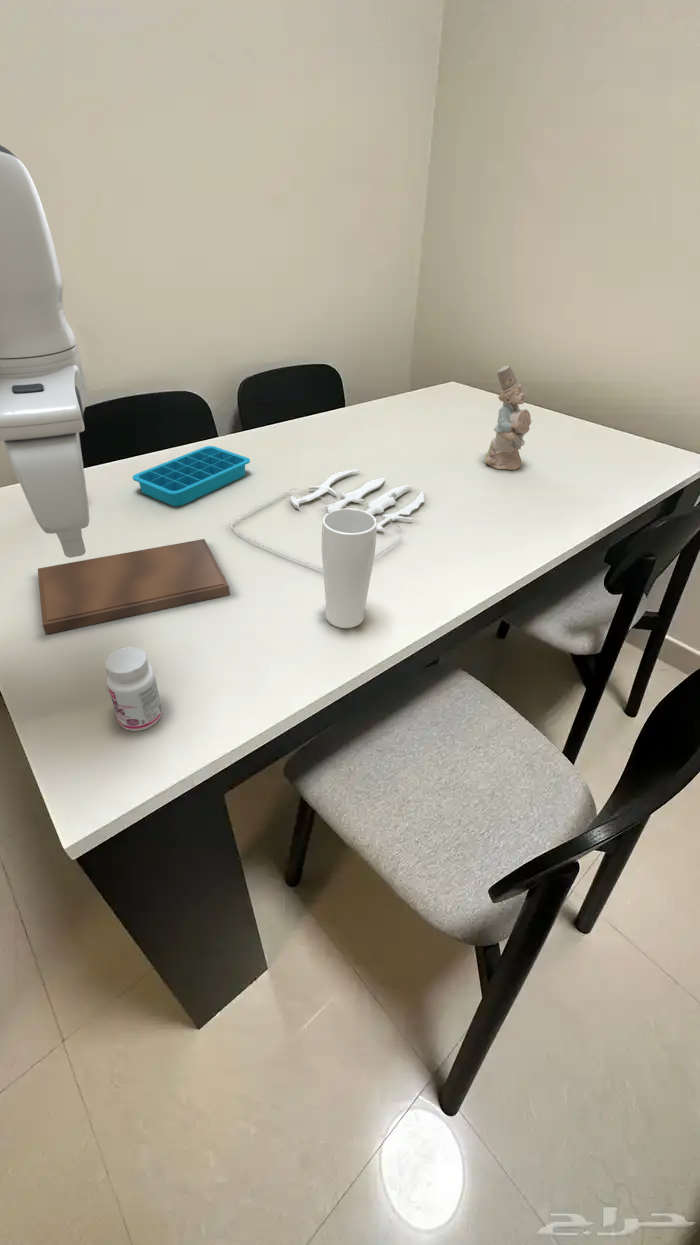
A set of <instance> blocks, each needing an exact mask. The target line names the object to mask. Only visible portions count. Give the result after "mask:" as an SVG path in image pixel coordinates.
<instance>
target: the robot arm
mask: <svg viewBox="0 0 700 1245" xmlns="http://www.w3.org/2000/svg"><path fill="white" fill-rule="evenodd" d="M56 251H57V250H56V248H55V244H54V240H53V237H52V233H51V230H50V226H49V223H48V219H47V216H46V212H45V209H44V206H43V204H42V201H41V197H40V195H39V193H38V190H37V187H36V184H35V182H34V180H33V178H32V176H31V174H30V172H29V170H28V169H27V167H26V166H25V164H24V163H23V162H22V161H21V160H20V159H19V158H18V157H17V156H16V155H15V154H14V152H12V151H10V150H9V149H7V148H6V147H5V146H3V145H1V144H0V442H2V443H3V445H4V446H3V447H4V449H5V451H6V455H7V457H8V459H9V461H10V464H11V466H12V469H13V471H14V473H15V476H16V478H17V480H18V483H19V485H20V487H21V490H22V492H23V494H24V496H25V498H26V500H27V504H28V506H29V508H30V510H31V512H32V514H33V517H34V519H35V520H36V522H37V524H38V525H39V527H40V528H41V530H42V531H43V532H44V533H45V534H48V535H49V534H50V535H51V534H52V535H53V534H56V536H57V539H59V542H60V544H61V548H62V551H63V554H64V556H65V557H66V558H70V559H71V558H76V557H82V556H84V555H85V554H86V551H87V550H86V547H85V546H86V545H85V543H84V540H83V534H82V529H85V528H87V527H88V526H89V524H90V506H89V498H88V491H87V482H86V475H85V468H84V461H83V455H82V446H81V437H80V436H81V435H80V433H83V432H84V431H85V419H84V413H85V410H86V405H87V404H88V403H89V400H90V395H89V390H88V387H87V386H88V385H87V382H86V378H85V373H84V369H83V364H82V359H81V356H80V352H79V347H78V346H79V345H78V342H77V338H76V336H75V333H74V330H73V329H72V327H71V325H70V323H69V321H68V319H67V316H66V315H67V314H66V312H65V308H64V302H63V301H64V300H63V294H64V280H63V276H62V272H61V268H60V263H59V259H58V255H57V252H56Z"/></svg>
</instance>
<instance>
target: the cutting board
mask: <svg viewBox="0 0 700 1245" xmlns="http://www.w3.org/2000/svg"><path fill="white" fill-rule="evenodd" d="M37 577H38V589H39V601H40V609H41V611H40V612H41V622H42V628H43V630H44V633H45V635H51V634H55V633H59V632H64V631H68V630H73V629H78V628H82V627H87V626H91V625H96V624H101V623H106V622H111V621H115V620H119V619H124V618H129V617H134V616H138V615H143V614H147V613H148V614H149V613H151V612H157V611H162V610H166V609H170V608H175V607H179V606H184V605H185V606H186V605H190V604H194V603H199V602H203V601H208V600H213V599H217V598H222V597H226V596H230V595H231V593H230V585H229V583H228V581H227V579H226V577H225V575H224V573H223V572H222V570H221V568H220V566H219V563H218V562H217V560H216V558H215V556H214V554H213V552H212V551H211V549H210V546H209V544H208V543H207V541H206V539H205V538H202V539H195V540H190V541H185V542H179V543H174V544H167V545H163V546H157V547H151V548H145V549H140V550H134V551H128V552H123V553H118V554H117V553H116V554H112V555H106V556H100V557H94V558H89V559H84V560H78V561H71V562H67V563H62V564H61V563H60V564H55V565H49V566H43V567H38V568H37Z"/></svg>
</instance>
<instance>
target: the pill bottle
mask: <svg viewBox="0 0 700 1245" xmlns="http://www.w3.org/2000/svg"><path fill="white" fill-rule="evenodd" d="M104 663H105V669H106V677H105V678H106V679H105V684H106V686H107V689H108V690H107V691H108V693H109V697H110V700H111V704H112V706H113V710H114V713H115V717H116V720H117V723H118V724H119V725H120V726H121V728H124V729H125V730H127V731H133V732H139V731H144V730H147V729H149V728H151V727H152V726H154V725H155V724H156V723H157V722H158V721H159V720H160V719H161V717H162V714H163V706H162V701H161V697H160V692H159V689H158V688H159V687H158V684H157V679H156V678H157V677H156V675H155V671H154V668H153V666H152V665H150V663H149V660H148V657H147V654H146V652H145V651H144V650H143V649H141V648H139V647H134V646H125V647H121V648H118V649H116V650H113V651H112V652H111V653H109V655H108V656H107V657H106V659H105V662H104Z"/></svg>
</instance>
